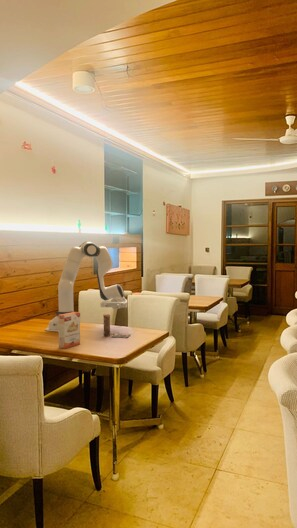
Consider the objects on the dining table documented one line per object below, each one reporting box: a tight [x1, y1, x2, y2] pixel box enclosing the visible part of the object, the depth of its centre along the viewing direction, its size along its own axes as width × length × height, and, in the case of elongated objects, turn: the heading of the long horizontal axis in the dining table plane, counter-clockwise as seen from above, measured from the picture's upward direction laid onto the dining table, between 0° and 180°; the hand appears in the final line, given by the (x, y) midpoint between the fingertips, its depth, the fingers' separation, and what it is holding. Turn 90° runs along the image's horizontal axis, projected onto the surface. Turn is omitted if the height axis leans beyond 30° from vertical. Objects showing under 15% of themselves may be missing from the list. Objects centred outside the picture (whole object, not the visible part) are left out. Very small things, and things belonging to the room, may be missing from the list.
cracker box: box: [58, 311, 81, 350], centre depth 248 cm, size 14×6×21 cm, turn 146°
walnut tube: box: [102, 313, 111, 338], centre depth 275 cm, size 5×5×15 cm
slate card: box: [110, 333, 131, 339], centre depth 274 cm, size 12×8×1 cm, turn 80°
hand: (111, 306), depth 286 cm, fingers open, 8 cm apart
